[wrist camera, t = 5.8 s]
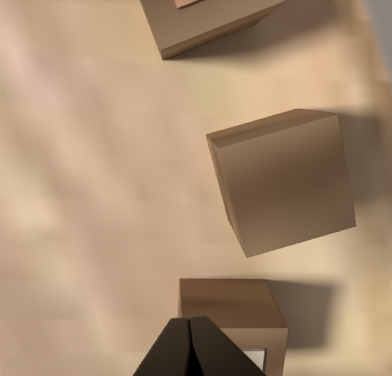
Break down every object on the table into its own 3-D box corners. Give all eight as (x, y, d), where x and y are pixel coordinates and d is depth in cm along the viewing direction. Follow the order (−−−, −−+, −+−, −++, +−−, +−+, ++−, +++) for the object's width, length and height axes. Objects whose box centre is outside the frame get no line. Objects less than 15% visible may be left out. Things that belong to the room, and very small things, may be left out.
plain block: (312, 195, 21) (356, 226, 16) (228, 219, 21) (246, 257, 16) (295, 108, 20) (337, 114, 15) (205, 134, 20) (217, 148, 15)
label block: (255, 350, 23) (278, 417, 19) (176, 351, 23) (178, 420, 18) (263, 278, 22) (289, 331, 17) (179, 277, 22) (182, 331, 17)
